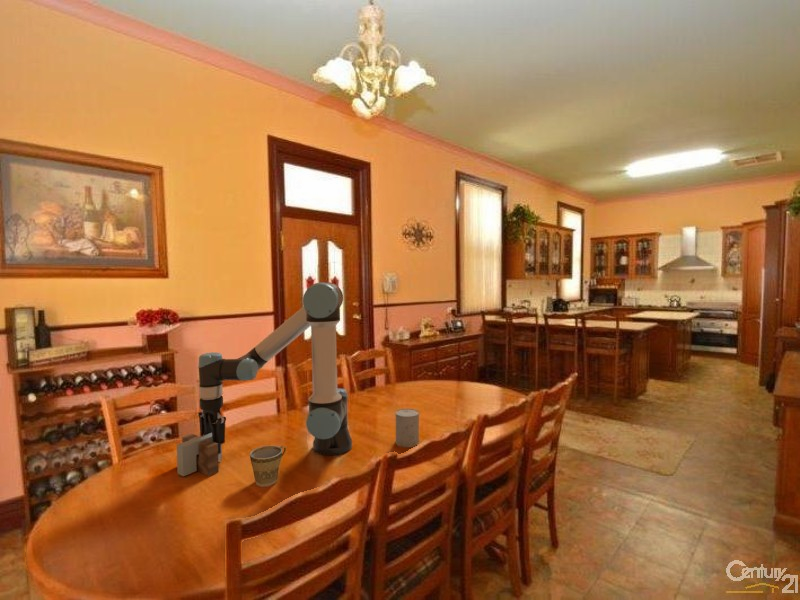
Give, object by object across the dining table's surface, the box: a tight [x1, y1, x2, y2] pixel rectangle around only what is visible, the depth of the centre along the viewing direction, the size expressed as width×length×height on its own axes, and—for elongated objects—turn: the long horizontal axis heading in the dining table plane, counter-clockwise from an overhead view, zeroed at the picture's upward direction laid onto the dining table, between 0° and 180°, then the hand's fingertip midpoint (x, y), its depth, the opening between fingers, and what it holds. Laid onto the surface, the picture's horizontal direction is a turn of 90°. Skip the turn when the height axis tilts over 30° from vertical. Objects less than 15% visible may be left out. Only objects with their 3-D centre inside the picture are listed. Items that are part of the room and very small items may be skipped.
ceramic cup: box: [249, 445, 287, 488], centre depth 131 cm, size 13×10×10 cm
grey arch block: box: [176, 433, 223, 477], centre depth 139 cm, size 4×14×10 cm, turn 147°
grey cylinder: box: [395, 408, 420, 448], centre depth 161 cm, size 10×10×12 cm
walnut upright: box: [181, 433, 220, 477], centre depth 139 cm, size 16×4×10 cm, turn 57°
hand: (213, 460), depth 143 cm, fingers closed on grey arch block, 3 cm apart
